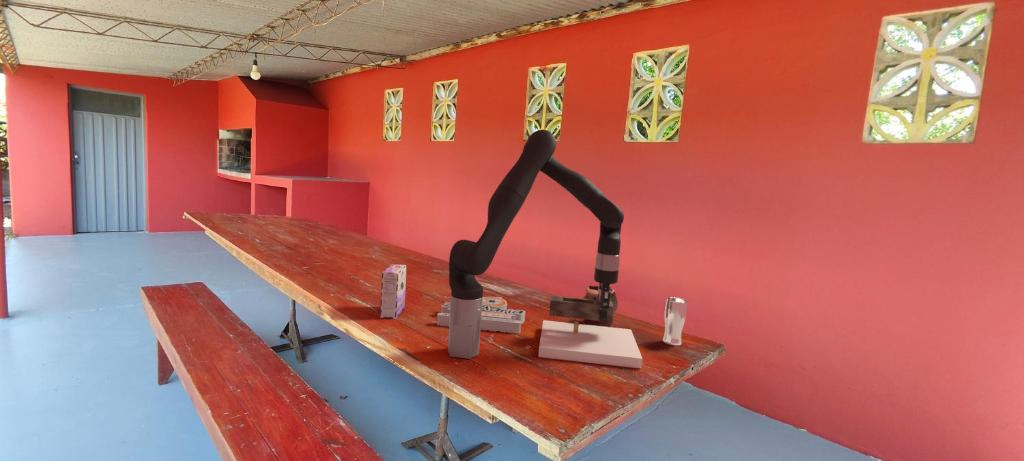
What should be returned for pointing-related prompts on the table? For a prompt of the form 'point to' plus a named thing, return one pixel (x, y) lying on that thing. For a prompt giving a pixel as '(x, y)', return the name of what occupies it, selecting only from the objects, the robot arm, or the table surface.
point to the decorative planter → (593, 295)
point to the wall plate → (589, 344)
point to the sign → (491, 316)
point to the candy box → (393, 291)
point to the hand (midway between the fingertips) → (601, 317)
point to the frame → (578, 308)
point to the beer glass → (674, 320)
